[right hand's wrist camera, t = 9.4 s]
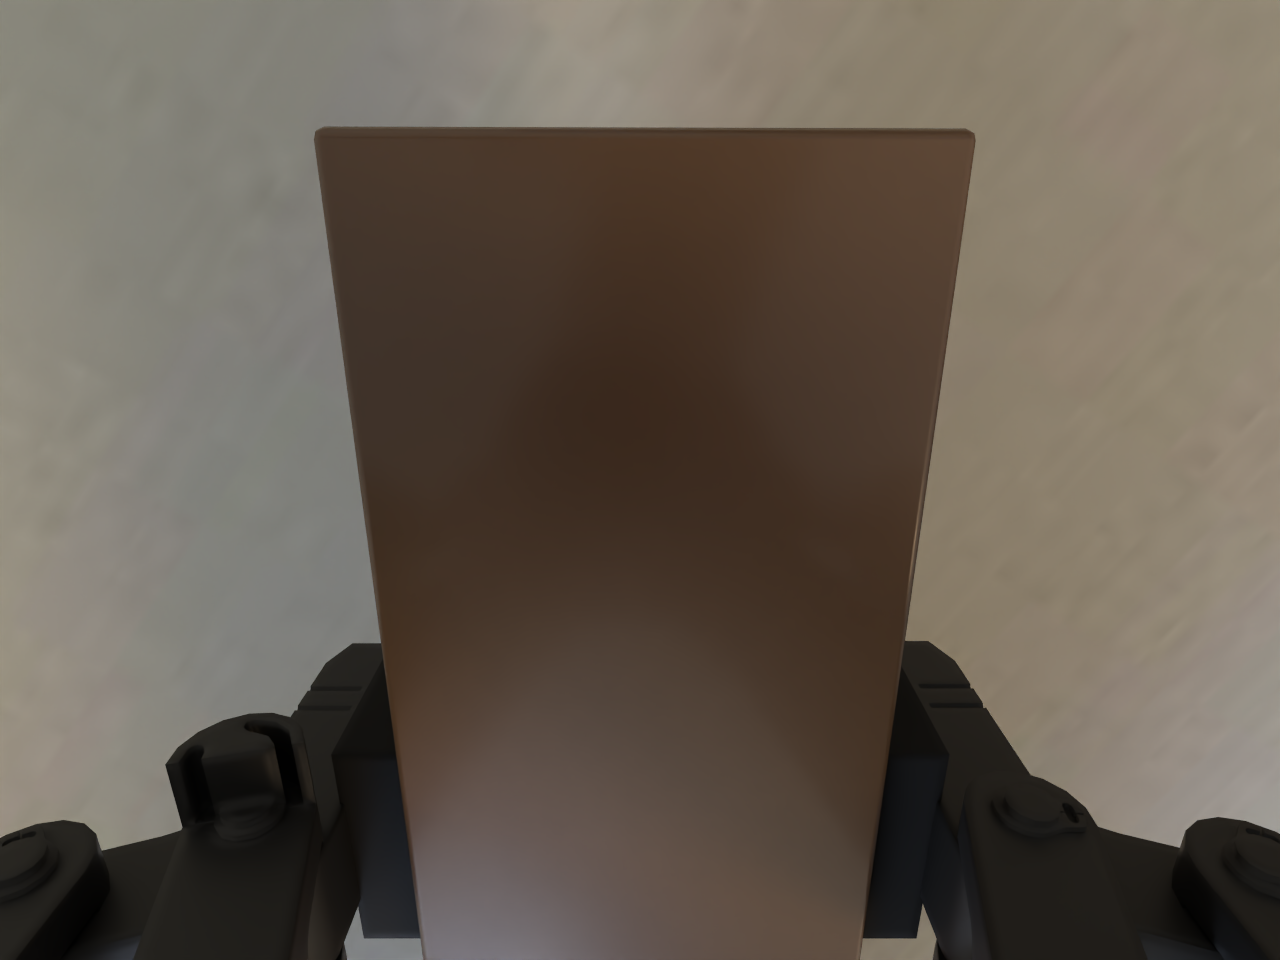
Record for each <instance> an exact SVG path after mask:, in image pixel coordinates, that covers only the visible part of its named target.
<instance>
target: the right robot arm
mask: <svg viewBox="0 0 1280 960" xmlns="http://www.w3.org/2000/svg"><path fill="white" fill-rule="evenodd" d="M165 765H166V769H167V773H168V776H169V780H170V783H171V787H172V791H173V794H174V798H175V801H176V805H177V809H178V812H179V816H180V819H181V823H182V827H183V828H182V830H181V831H178V832H174V833H171V834H168V835H165V836H162V837H157V838H153V839H149V840H145V841H141V842H137V843H132V844H128V845H124V846H120V847H116V848H111V849H107V850H103V851H101V848H100V845H99V842H98V839H97V836H96V833H94V832H93V831H92V830H91V829H90V828H89V827H88V826H87V825H85V824H84V823H78V822H72V821H65V820H61V821H55V822H48V823H41V824H35V825H33V826H30V827H27V828H24V829H21V830H19V831H16V832H13V833H10V834H7V835H5V836H3V837H1V838H0V960H347V956H346V950H345V945H344V941H345V938H346V935H347V933H348V930H349V928H350V925H351V923H352V920H353V918H354V915H355V912H356V910H357V907H359V913H360V918H361V924H362V929H363V935H364V938H420V930H419V923H418V915H417V908H416V900H415V893H414V885H413V878H412V870H411V863H410V855H409V848H408V840H407V833H406V825H405V818H404V810H403V803H402V795H401V788H400V780H399V773H398V765H397V758H396V750H395V743H394V735H393V728H392V720H391V713H390V705H389V698H388V690H387V683H386V675H385V668H384V660H383V653H382V645H381V643H353V644H351V645H350V646H349V647H347V648H346V649H344V650H343V651H342V652H340V653H339V654H338V655H336V656H335V657H334V658H332V659H331V660H330V661H328V662H327V663H326V664H325V665H324V667H323V669H322V670H321V672H320V673H319V675H318V676H317V678H316V679H315V681H314V682H313V684H312V685H311V690H310V691H307V693H306V694H305V696H304V697H303V699H302V700H301V702H300V704H299V705H298V710H297V711H294V713H293V714H292V716H291V717H287V716H283V715H279V714H275V713H256V714H246V715H242V716H238V717H235V718H231V719H227V720H223V721H221V722H219V723H217V724H214V725H212V726H210V727H208V728H206V729H204V730H202V731H200V732H198V733H196V734H195V735H194V736H192V737H191V738H190V739H189V740H187V741H186V742H185V743H183V744H182V745H181V746H179V747H178V748H177V749H176V751H175V752H174V754H173V755H172V756H171V758H170V759H169V760H168V762H167V763H166V764H165ZM922 904H923V905H924V908H925V910H926V913H927V915H928V918H929V920H930V923H931V925H932V928H933V930H934V933H935V935H936V938H937V940H936V945H935V950H934V955H933V960H1280V834H1279V833H1277V832H1275V831H1272V830H1269V829H1266V828H1264V827H1261V826H1258V825H1255V824H1252V823H1249V822H1247V821H1241V820H1235V819H1228V818H1221V817H1216V818H1209V819H1203V820H1197V821H1196V822H1195V823H1194V824H1193V825H1192V826H1191V827H1189V828H1188V829H1187V830H1186V831H1185V834H1184V837H1183V840H1182V843H1181V846H1180V848H1178V847H1174V846H1170V845H1166V844H1161V843H1157V842H1153V841H1149V840H1145V839H1140V838H1136V837H1132V836H1128V835H1123V834H1120V833H1116V832H1113V831H1110V830H1107V829H1103V828H1100V827H1098V826H1097V825H1096V823H1095V822H1094V820H1093V818H1092V817H1091V815H1090V814H1089V812H1088V811H1087V809H1086V808H1085V807H1084V806H1083V805H1082V804H1081V803H1080V802H1078V801H1077V800H1076V799H1075V798H1074V797H1073V796H1071V795H1070V794H1069V793H1068V792H1067V791H1065V790H1063V789H1061V788H1059V787H1057V786H1055V785H1053V784H1052V783H1050V782H1048V781H1046V780H1044V779H1041V778H1038V777H1034V776H1031V775H1030V774H1029V772H1028V771H1027V769H1026V768H1025V766H1024V765H1023V763H1022V762H1021V760H1020V759H1019V757H1018V756H1017V754H1016V752H1015V751H1014V749H1013V748H1012V746H1011V745H1010V743H1009V742H1008V740H1007V739H1006V737H1005V736H1004V734H1003V733H1002V731H1001V730H1000V728H999V727H998V725H997V724H996V722H995V721H994V719H993V718H992V716H991V715H990V713H989V712H988V710H987V709H986V708H983V703H982V701H981V700H980V698H979V697H978V695H977V694H976V692H975V691H974V689H971V688H970V683H969V681H968V680H967V678H966V677H965V675H964V674H963V672H962V671H961V669H960V668H959V666H958V665H957V663H956V662H955V661H954V660H953V659H952V658H950V657H949V656H948V655H946V654H945V653H943V652H942V651H941V650H939V649H938V648H937V647H935V646H934V645H933V644H931V643H930V642H929V641H905V643H904V650H903V657H902V664H901V671H900V678H899V685H898V692H897V699H896V706H895V713H894V720H893V727H892V734H891V741H890V749H889V756H888V763H887V770H886V777H885V784H884V791H883V798H882V805H881V812H880V819H879V826H878V833H877V841H876V848H875V855H874V862H873V869H872V876H871V883H870V890H869V897H868V904H867V911H866V918H865V925H864V932H863V938H917V932H918V926H919V921H920V915H921V910H922Z"/></svg>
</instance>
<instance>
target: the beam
mask: <svg viewBox="0 0 1280 960" xmlns="http://www.w3.org/2000/svg"><path fill="white" fill-rule="evenodd" d="M314 143H315V150H316V158H317V165H318V173H319V180H320V188H321V195H322V203H323V210H324V218H325V225H326V233H327V240H328V248H329V255H330V263H331V270H332V278H333V285H334V293H335V300H336V308H337V315H338V323H339V330H340V338H341V345H342V353H343V360H344V368H345V375H346V383H347V390H348V398H349V405H350V413H351V420H352V428H353V435H354V443H355V450H356V458H357V465H358V473H359V480H360V488H361V495H362V503H363V510H364V518H365V525H366V533H367V540H368V548H369V555H370V563H371V570H372V578H373V585H374V593H375V600H376V608H377V615H378V623H379V630H380V638H381V645H382V653H383V660H384V668H385V675H386V683H387V690H388V698H389V705H390V713H391V720H392V728H393V735H394V743H395V750H396V758H397V765H398V773H399V780H400V788H401V795H402V803H403V810H404V818H405V825H406V833H407V840H408V848H409V855H410V863H411V870H412V878H413V885H414V893H415V900H416V908H417V915H418V923H419V930H420V938H421V945H422V953H423V960H860V954H861V947H862V940H863V932H864V925H865V918H866V911H867V904H868V897H869V890H870V883H871V876H872V869H873V862H874V855H875V848H876V841H877V833H878V826H879V819H880V812H881V805H882V798H883V791H884V784H885V777H886V770H887V763H888V756H889V749H890V741H891V734H892V727H893V720H894V713H895V706H896V699H897V692H898V685H899V678H900V671H901V664H902V657H903V650H904V643H905V635H906V628H907V621H908V614H909V607H910V600H911V593H912V586H913V579H914V572H915V565H916V558H917V551H918V544H919V536H920V529H921V522H922V515H923V508H924V501H925V494H926V487H927V480H928V473H929V466H930V459H931V452H932V444H933V437H934V430H935V423H936V416H937V409H938V402H939V395H940V388H941V381H942V374H943V367H944V360H945V353H946V345H947V338H948V331H949V324H950V317H951V310H952V303H953V296H954V289H955V282H956V275H957V268H958V261H959V254H960V247H961V239H962V232H963V225H964V218H965V211H966V204H967V197H968V190H969V183H970V176H971V169H972V162H973V155H974V147H975V135H974V133H973V132H971V131H969V130H967V129H912V128H589V127H322V128H320V129H318V130H316V132H315V137H314Z"/></svg>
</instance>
